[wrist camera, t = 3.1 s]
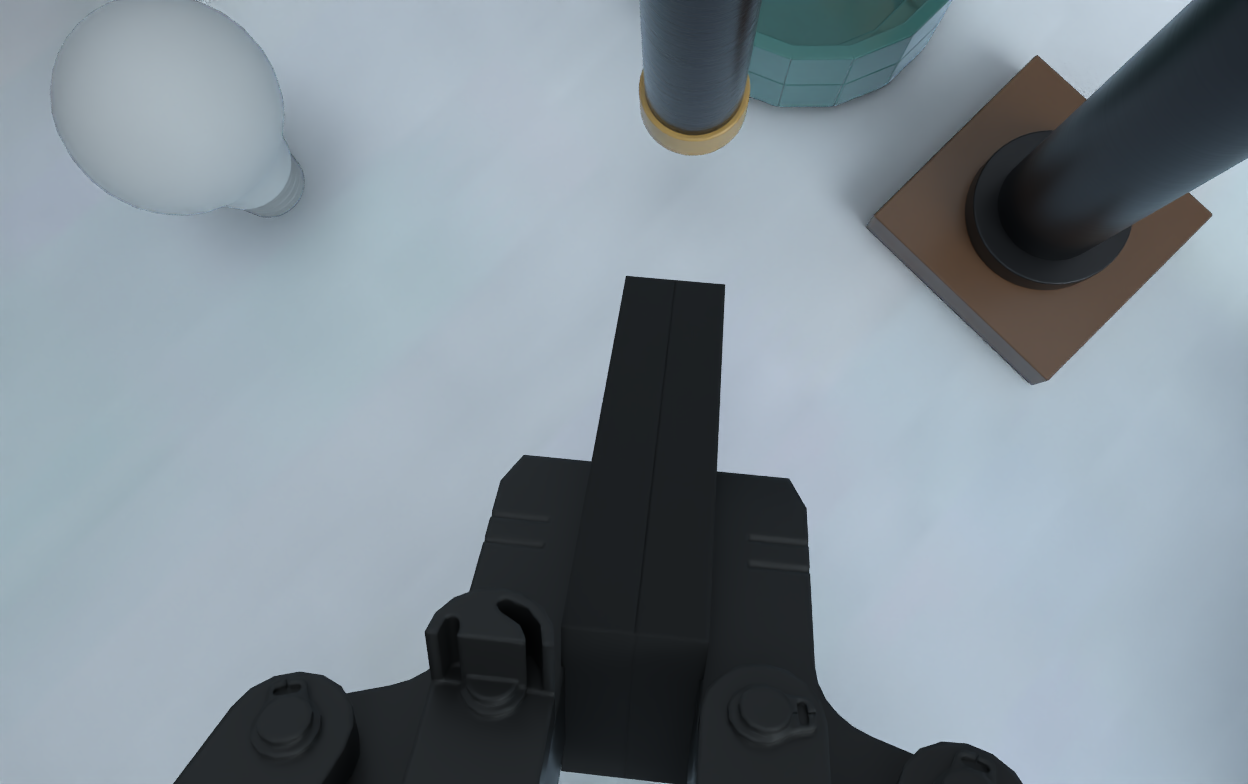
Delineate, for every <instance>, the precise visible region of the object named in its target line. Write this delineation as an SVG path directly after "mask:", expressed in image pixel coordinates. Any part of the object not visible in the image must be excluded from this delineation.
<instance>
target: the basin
mask: <svg viewBox="0 0 1248 784" xmlns="http://www.w3.org/2000/svg"><path fill="white" fill-rule="evenodd" d="M951 2H952V0H762V3H761V8H760V13H759V19H758V24H757V29H756V34H755V40H754V45H753V50H752V55H751V61H750V66H749V71H748V75H749V79H750V97H753V98H755V99H758V100H760V101H763V102H766V103H768V104H771V105H773V106H776V107H777V106H779V107H828V106H837V105H839V104H842V103H844V102H847V101H849V100H852V99H854V98H856V97H859V96H861V95H864V94H866V93H869V92H871V91H874V90H876V89H879V88H881V87H884V86H885V85H886V84H888V83H889V82H890V81H891V80H892V79H893V78H894V77H895V76H896V75H897V74H898V73H899V72H901V71H902V70H903V69H904V68H905V67H906V66H907V65H908V64H909V63H910V62H911V61H912V60H913V59H914V58H915V57H916V56H917V55H918V54H919V53H920V52H921V51H922V50H923V49H924V48H925V46H926V45H927V43H928V42H929V40H930V38H931V36H932V35H933V33H934V31H935V29H936V28H937V26H938V24H939V22H940V21H941V19H942V17H943V16H944V14H945V12H946V10H947V9H948V7H949V5H950V4H951Z"/></svg>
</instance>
